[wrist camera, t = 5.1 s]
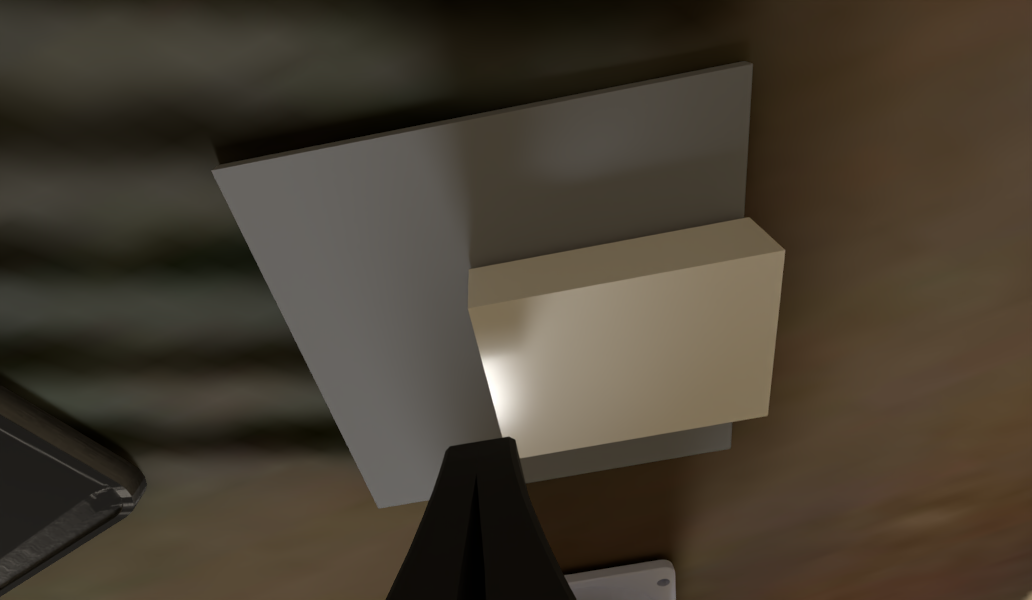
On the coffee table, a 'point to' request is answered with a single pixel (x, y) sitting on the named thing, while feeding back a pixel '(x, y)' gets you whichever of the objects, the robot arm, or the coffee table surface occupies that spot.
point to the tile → (630, 336)
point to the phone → (54, 489)
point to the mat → (476, 251)
